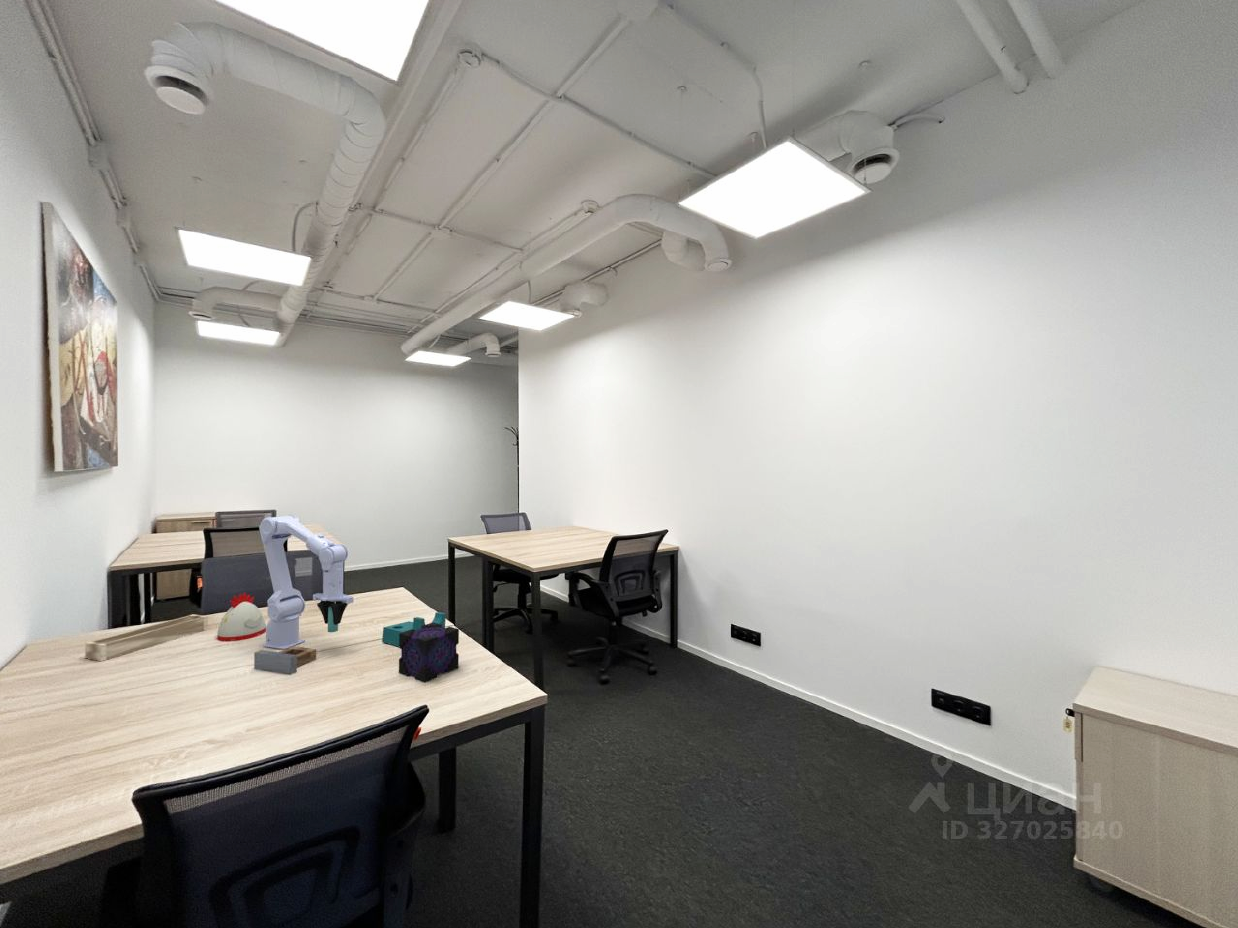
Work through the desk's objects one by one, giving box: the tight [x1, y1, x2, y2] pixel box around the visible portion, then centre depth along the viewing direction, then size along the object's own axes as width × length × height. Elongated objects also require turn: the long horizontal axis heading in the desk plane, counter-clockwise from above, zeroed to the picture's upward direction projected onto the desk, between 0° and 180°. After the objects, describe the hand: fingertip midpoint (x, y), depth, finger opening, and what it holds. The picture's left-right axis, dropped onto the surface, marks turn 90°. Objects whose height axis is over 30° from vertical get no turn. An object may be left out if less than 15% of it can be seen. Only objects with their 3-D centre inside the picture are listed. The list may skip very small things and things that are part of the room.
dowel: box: [327, 606, 339, 633], centre depth 160 cm, size 3×3×8 cm
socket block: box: [278, 645, 317, 668], centre depth 150 cm, size 9×9×3 cm
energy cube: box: [398, 621, 460, 684], centre depth 146 cm, size 12×12×12 cm
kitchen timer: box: [216, 592, 267, 643], centre depth 174 cm, size 14×14×15 cm
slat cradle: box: [84, 614, 209, 662], centre depth 166 cm, size 7×30×5 cm, turn 165°
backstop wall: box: [253, 649, 298, 675], centre depth 145 cm, size 14×2×5 cm, turn 75°
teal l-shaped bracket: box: [381, 611, 447, 647], centre depth 169 cm, size 18×11×10 cm, turn 63°
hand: (332, 623), depth 160 cm, fingers closed on dowel, 3 cm apart
